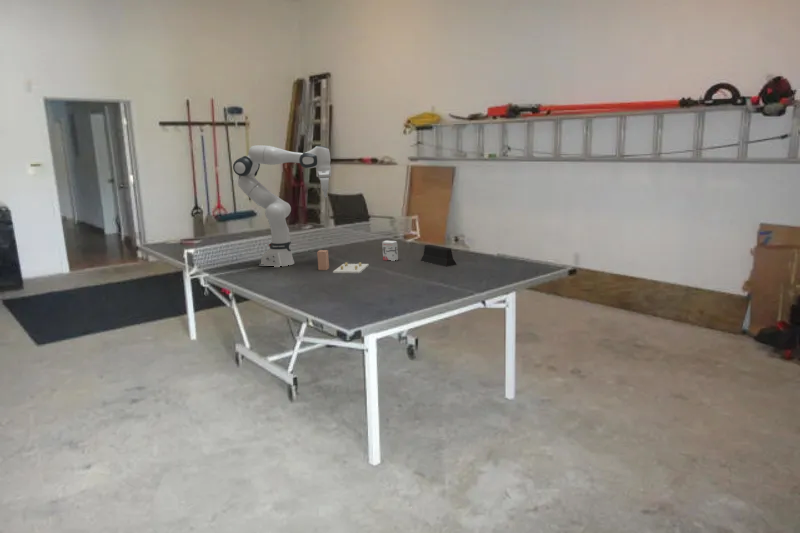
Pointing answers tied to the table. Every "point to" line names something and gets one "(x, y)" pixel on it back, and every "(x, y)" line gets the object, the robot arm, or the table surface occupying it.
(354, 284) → the table surface
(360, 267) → the mounting plate
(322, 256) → the terracotta block
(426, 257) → the barrier
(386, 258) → the ink box
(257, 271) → the table surface
